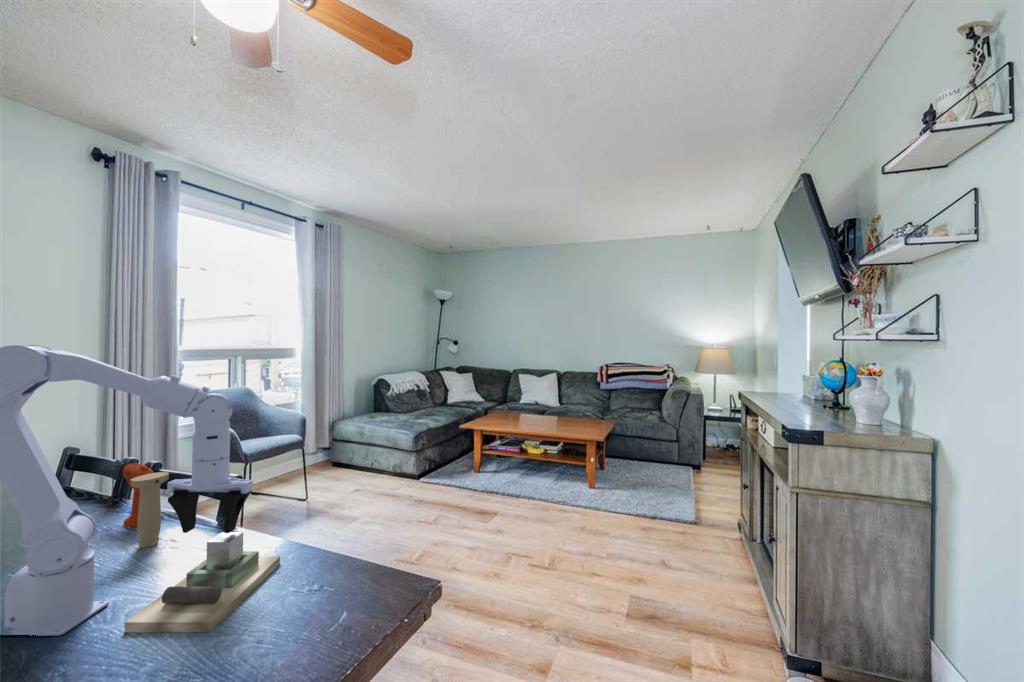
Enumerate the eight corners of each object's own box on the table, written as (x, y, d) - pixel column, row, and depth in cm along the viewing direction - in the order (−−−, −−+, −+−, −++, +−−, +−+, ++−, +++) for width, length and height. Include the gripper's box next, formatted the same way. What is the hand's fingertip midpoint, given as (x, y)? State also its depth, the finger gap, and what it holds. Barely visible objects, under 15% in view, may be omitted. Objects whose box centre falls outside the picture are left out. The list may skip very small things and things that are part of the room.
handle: (172, 540, 94) (173, 473, 94) (138, 554, 88) (139, 482, 88) (158, 537, 95) (160, 471, 96) (124, 549, 89) (125, 479, 90)
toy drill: (124, 503, 111) (129, 448, 111) (159, 527, 102) (164, 467, 102) (100, 509, 107) (105, 452, 106) (134, 535, 98) (139, 472, 97)
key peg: (206, 581, 75) (207, 542, 75) (221, 569, 79) (221, 532, 79) (228, 581, 75) (229, 542, 75) (242, 569, 79) (243, 532, 79)
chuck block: (124, 632, 64) (125, 605, 64) (214, 564, 84) (214, 544, 84) (210, 631, 64) (211, 605, 64) (279, 563, 84) (280, 543, 84)
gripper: (262, 452, 82) (261, 521, 82) (188, 451, 82) (186, 521, 82) (240, 462, 75) (238, 538, 75) (158, 461, 75) (156, 537, 75)
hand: (209, 530), depth 78 cm, fingers open, 7 cm apart
